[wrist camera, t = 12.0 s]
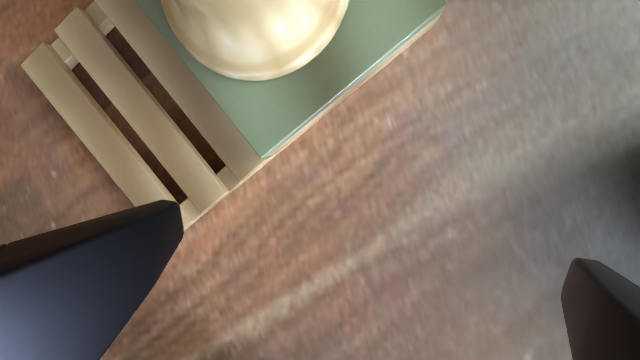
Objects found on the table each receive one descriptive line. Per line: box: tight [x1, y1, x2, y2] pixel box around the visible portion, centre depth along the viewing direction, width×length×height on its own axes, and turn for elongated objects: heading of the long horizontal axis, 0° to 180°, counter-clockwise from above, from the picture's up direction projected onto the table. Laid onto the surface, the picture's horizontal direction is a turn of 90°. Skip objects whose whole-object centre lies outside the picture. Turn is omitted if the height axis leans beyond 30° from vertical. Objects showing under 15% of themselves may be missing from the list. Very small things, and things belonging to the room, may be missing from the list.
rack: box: [21, 0, 447, 231], centre depth 19 cm, size 18×12×4 cm, turn 129°
